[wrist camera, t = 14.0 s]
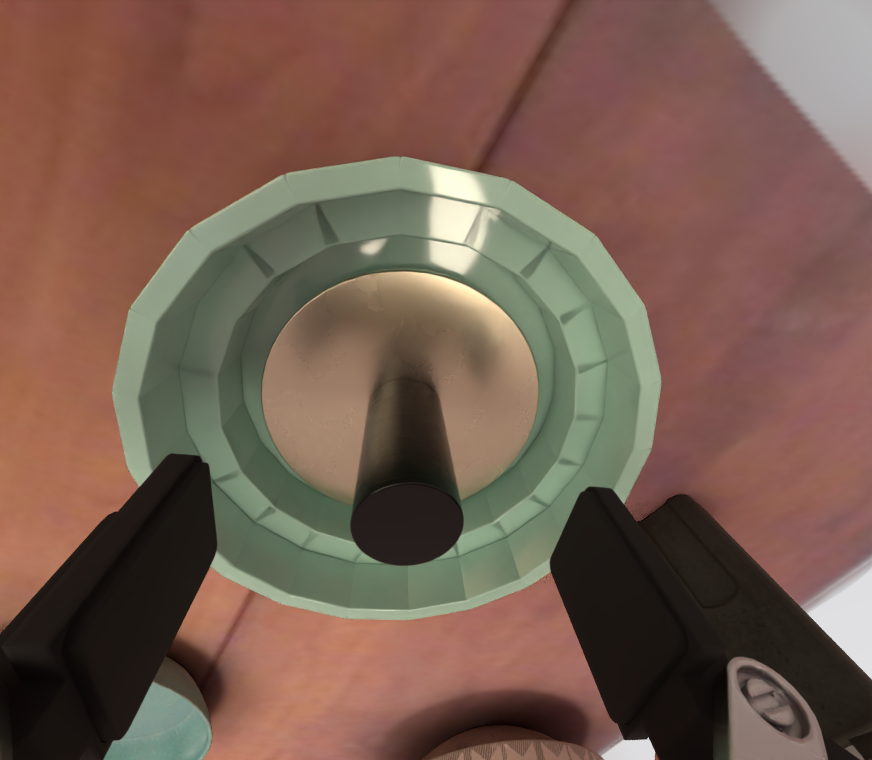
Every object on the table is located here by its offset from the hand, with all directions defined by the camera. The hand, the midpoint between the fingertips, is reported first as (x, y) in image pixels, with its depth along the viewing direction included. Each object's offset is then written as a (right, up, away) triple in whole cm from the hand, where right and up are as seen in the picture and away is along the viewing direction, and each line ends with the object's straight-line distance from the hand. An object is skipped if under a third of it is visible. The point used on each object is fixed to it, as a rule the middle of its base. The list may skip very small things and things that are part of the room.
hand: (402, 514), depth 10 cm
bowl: (-1, +3, +7) cm, 8 cm away
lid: (0, +2, +6) cm, 7 cm away
